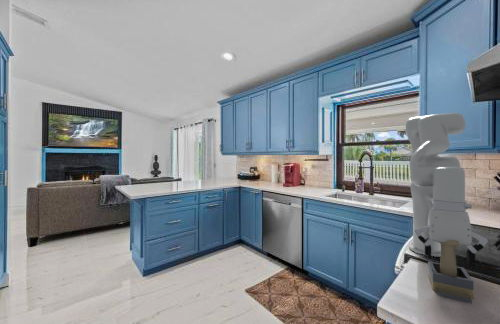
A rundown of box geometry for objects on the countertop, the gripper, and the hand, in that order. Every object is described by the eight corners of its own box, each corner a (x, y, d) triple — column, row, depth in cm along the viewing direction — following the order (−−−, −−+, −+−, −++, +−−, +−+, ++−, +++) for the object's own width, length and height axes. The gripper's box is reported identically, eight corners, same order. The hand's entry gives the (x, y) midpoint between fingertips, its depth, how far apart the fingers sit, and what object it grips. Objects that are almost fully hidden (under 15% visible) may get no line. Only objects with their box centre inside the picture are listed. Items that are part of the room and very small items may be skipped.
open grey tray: (426, 272, 79) (426, 258, 79) (461, 279, 75) (461, 264, 75) (434, 294, 66) (434, 277, 66) (477, 304, 61) (477, 286, 61)
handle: (459, 293, 66) (458, 242, 67) (432, 283, 72) (432, 236, 72) (464, 288, 69) (464, 239, 69) (438, 279, 74) (438, 234, 75)
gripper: (482, 207, 69) (483, 263, 69) (413, 201, 78) (413, 251, 78) (492, 211, 63) (492, 273, 63) (415, 205, 72) (415, 259, 72)
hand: (448, 260), depth 70 cm, fingers open, 9 cm apart
